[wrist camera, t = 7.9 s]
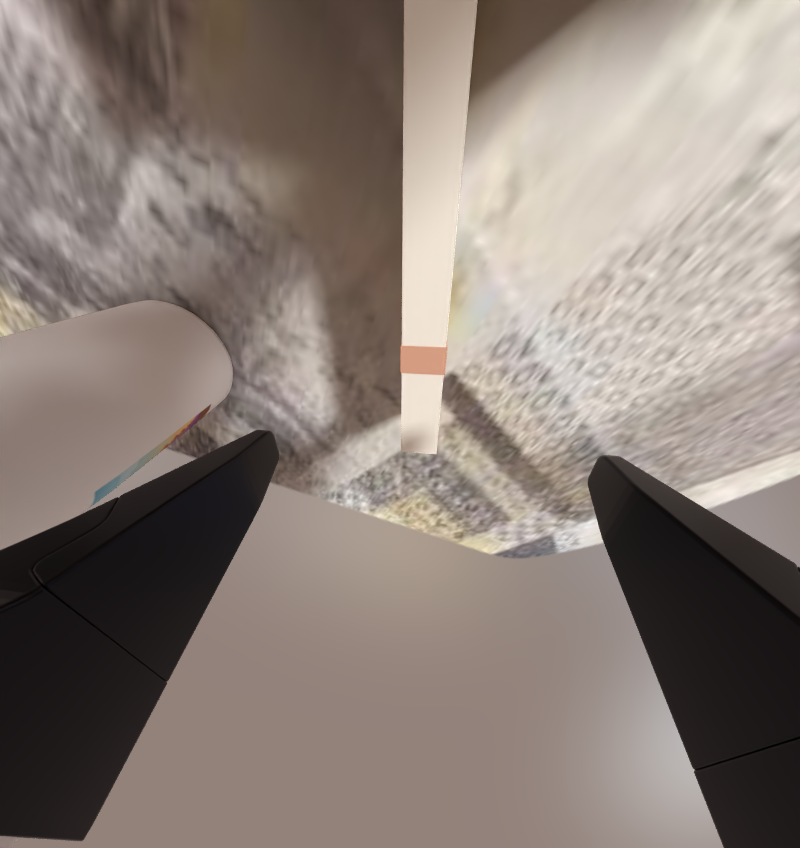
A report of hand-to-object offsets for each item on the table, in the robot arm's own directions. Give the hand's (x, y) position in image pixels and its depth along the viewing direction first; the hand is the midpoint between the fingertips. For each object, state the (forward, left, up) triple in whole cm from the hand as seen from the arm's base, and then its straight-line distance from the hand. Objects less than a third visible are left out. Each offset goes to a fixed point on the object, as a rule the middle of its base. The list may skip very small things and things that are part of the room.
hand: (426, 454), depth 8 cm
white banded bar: (0, -4, -11) cm, 12 cm away
